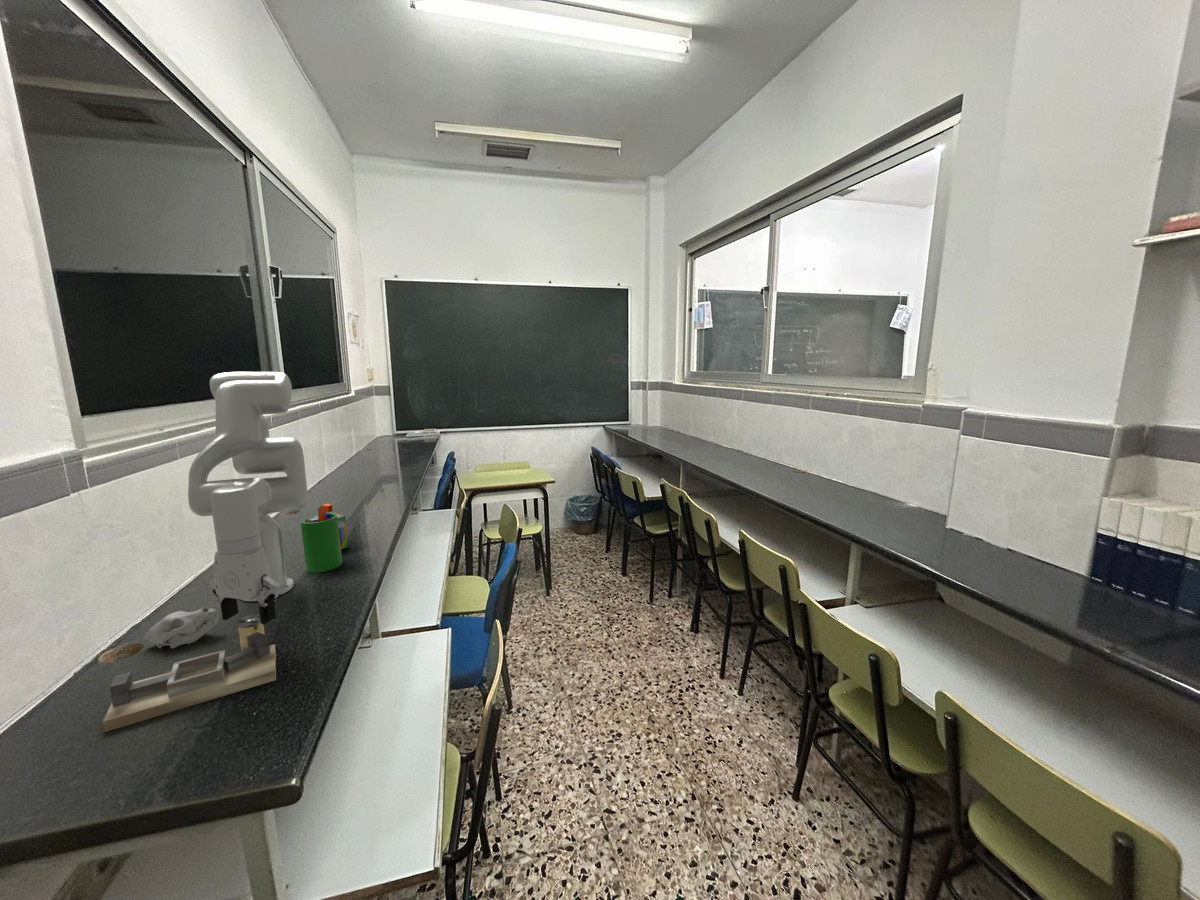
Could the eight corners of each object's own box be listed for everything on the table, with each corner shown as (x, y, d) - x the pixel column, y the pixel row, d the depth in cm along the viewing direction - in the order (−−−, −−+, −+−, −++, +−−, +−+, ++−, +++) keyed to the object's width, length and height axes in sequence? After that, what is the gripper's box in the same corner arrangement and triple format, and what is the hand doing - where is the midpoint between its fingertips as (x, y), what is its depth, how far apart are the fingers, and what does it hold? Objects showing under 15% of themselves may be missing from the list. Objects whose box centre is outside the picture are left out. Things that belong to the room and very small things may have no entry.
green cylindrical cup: (319, 559, 150) (313, 499, 147) (348, 559, 151) (342, 499, 148) (302, 573, 140) (295, 509, 137) (333, 572, 141) (326, 508, 138)
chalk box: (349, 547, 160) (345, 506, 158) (322, 556, 153) (317, 513, 150) (335, 542, 165) (331, 502, 163) (307, 550, 158) (303, 508, 155)
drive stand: (121, 695, 88) (116, 666, 87) (275, 652, 101) (272, 627, 100) (104, 732, 79) (98, 700, 78) (275, 680, 93) (272, 652, 92)
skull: (151, 627, 106) (195, 587, 108) (188, 649, 109) (230, 609, 111) (132, 644, 99) (179, 600, 101) (171, 667, 102) (217, 623, 104)
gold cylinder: (241, 646, 103) (237, 617, 102) (266, 640, 106) (262, 612, 105) (240, 656, 100) (236, 626, 99) (265, 650, 102) (262, 620, 101)
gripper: (187, 547, 96) (199, 624, 99) (258, 553, 93) (268, 632, 96) (222, 535, 104) (232, 607, 107) (289, 540, 101) (298, 614, 103)
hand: (249, 618), depth 101 cm, fingers open, 9 cm apart
